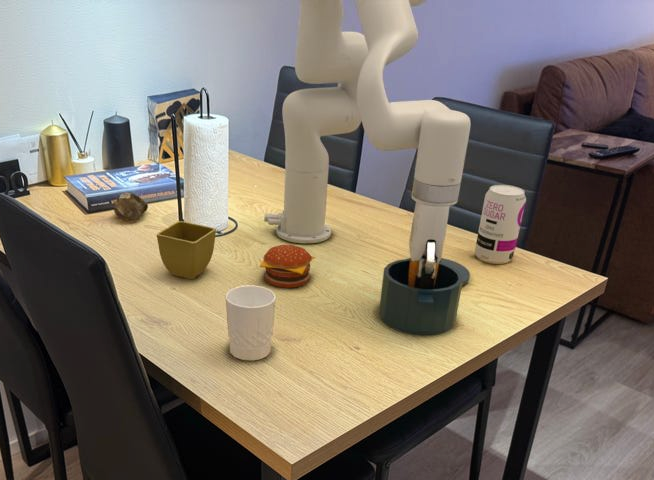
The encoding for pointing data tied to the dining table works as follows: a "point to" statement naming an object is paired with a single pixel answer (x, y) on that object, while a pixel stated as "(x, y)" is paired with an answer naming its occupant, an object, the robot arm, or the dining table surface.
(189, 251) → the flower pot
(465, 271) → the pot lid
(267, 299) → the white cup
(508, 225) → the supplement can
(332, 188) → the dining table surface
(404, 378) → the dining table surface
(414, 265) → the carrot
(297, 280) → the hamburger
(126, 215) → the fossilized seashell
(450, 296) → the pot
